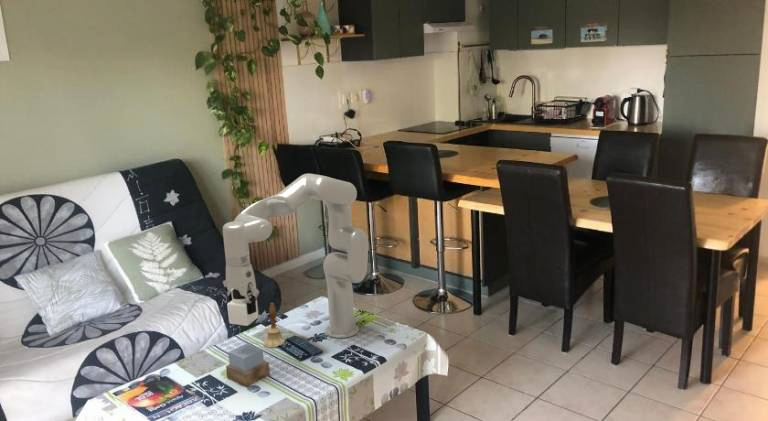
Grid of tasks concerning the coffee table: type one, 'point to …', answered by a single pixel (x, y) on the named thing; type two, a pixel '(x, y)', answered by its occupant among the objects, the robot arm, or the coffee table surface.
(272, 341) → the hand bell
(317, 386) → the coffee table surface
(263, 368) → the block base
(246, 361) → the block top
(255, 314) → the medicine bottle
